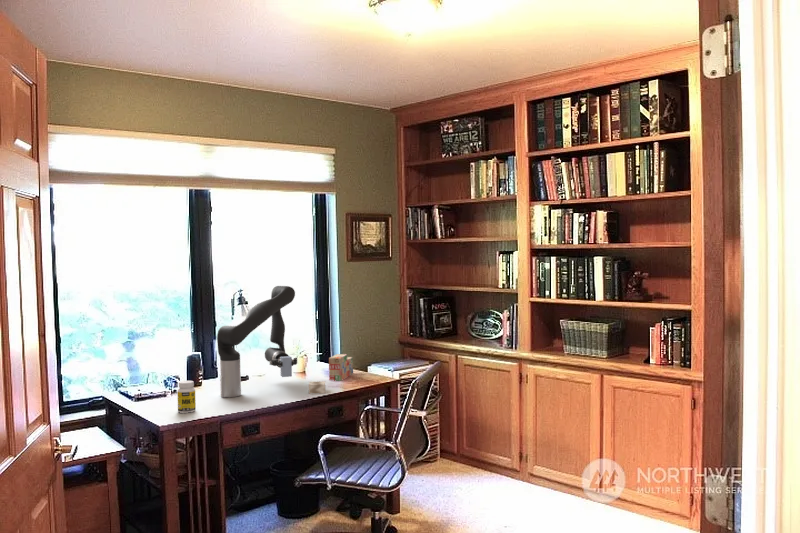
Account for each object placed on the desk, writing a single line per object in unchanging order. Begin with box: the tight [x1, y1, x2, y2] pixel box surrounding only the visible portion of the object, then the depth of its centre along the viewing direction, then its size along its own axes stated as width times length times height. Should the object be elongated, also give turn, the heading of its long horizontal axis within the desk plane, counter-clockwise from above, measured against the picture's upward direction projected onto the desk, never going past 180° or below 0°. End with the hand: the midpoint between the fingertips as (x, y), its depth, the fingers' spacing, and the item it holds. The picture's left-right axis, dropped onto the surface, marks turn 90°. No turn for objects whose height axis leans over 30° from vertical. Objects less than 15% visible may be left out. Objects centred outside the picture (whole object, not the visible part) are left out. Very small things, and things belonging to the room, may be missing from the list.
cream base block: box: [308, 380, 326, 395], centre depth 315 cm, size 8×8×4 cm
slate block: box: [280, 355, 293, 378], centre depth 309 cm, size 4×4×9 cm
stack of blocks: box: [328, 353, 354, 382], centre depth 351 cm, size 21×6×12 cm, turn 166°
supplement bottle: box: [177, 380, 196, 414], centre depth 281 cm, size 7×7×13 cm
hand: (287, 364), depth 307 cm, fingers closed on slate block, 4 cm apart
